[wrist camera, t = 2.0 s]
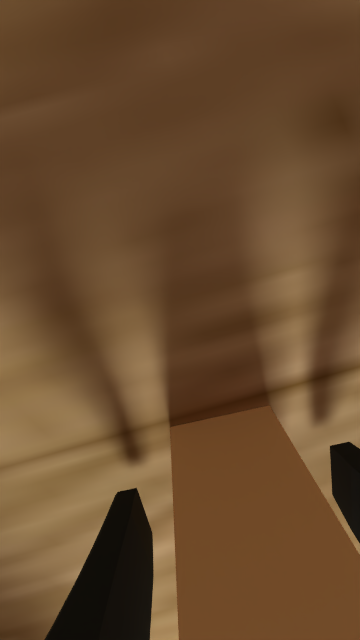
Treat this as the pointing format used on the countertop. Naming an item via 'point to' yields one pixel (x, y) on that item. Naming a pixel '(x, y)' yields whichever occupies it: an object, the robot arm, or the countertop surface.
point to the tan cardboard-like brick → (256, 537)
